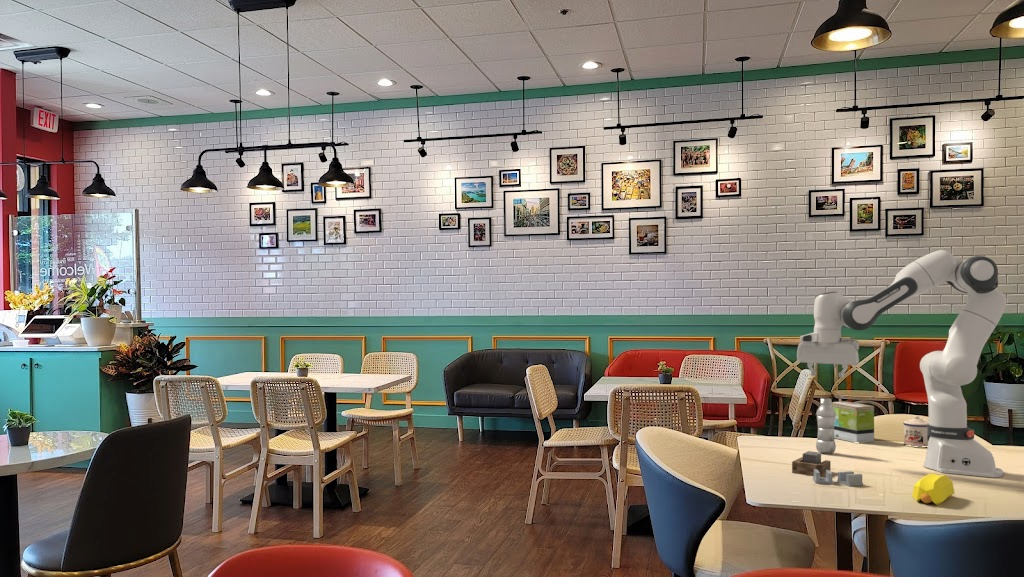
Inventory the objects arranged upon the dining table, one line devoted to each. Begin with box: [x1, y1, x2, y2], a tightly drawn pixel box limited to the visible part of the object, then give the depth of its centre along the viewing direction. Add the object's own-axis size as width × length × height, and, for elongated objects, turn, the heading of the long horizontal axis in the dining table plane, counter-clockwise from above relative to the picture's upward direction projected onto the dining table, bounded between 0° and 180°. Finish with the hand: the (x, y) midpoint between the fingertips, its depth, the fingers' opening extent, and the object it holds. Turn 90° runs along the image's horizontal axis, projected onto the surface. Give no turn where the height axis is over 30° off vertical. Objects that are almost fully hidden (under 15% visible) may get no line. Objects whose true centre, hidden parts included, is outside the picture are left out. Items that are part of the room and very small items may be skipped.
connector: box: [802, 450, 822, 464], centre depth 238 cm, size 4×10×5 cm, turn 141°
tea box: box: [831, 401, 875, 443], centre depth 299 cm, size 15×10×15 cm, turn 23°
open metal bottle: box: [815, 397, 837, 455], centre depth 269 cm, size 6×7×20 cm
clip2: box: [812, 469, 834, 485], centre depth 223 cm, size 5×5×3 cm
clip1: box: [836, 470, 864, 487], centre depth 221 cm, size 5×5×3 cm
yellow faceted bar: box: [911, 473, 955, 506], centre depth 203 cm, size 18×7×8 cm
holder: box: [791, 456, 832, 478], centre depth 236 cm, size 9×10×4 cm
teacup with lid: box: [903, 415, 929, 447], centre depth 285 cm, size 12×9×12 cm
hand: (827, 376), depth 258 cm, fingers open, 8 cm apart
